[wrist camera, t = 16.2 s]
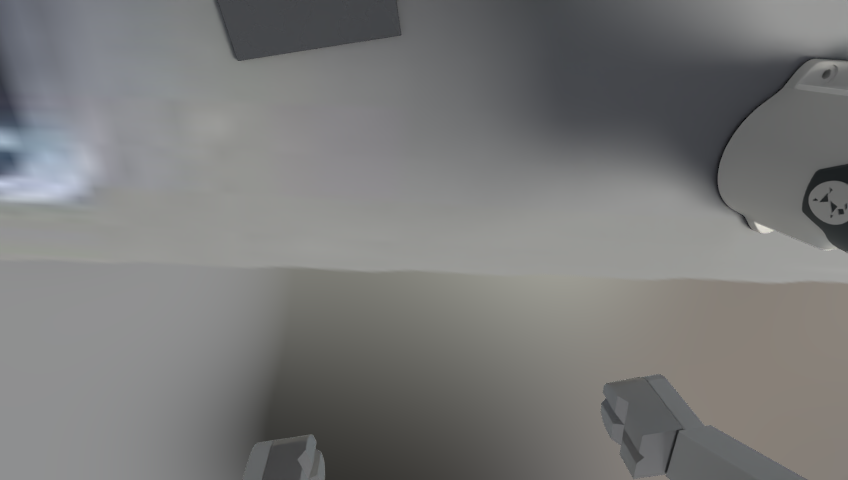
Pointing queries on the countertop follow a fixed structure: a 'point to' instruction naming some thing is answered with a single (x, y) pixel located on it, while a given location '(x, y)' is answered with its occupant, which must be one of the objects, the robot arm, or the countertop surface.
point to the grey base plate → (305, 24)
